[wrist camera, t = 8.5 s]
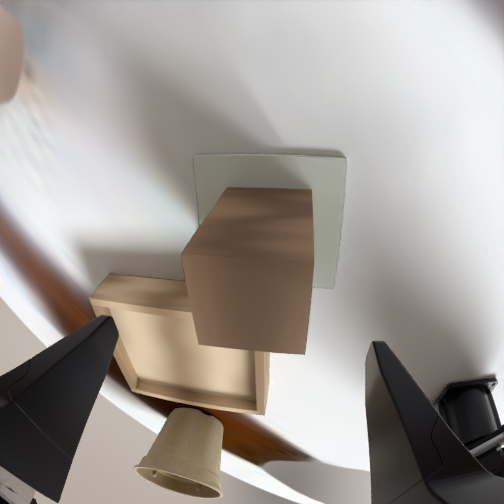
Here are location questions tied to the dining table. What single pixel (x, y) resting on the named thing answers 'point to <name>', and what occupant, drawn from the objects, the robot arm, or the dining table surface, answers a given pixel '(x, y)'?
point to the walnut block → (253, 270)
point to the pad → (283, 176)
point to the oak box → (177, 348)
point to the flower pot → (186, 455)
